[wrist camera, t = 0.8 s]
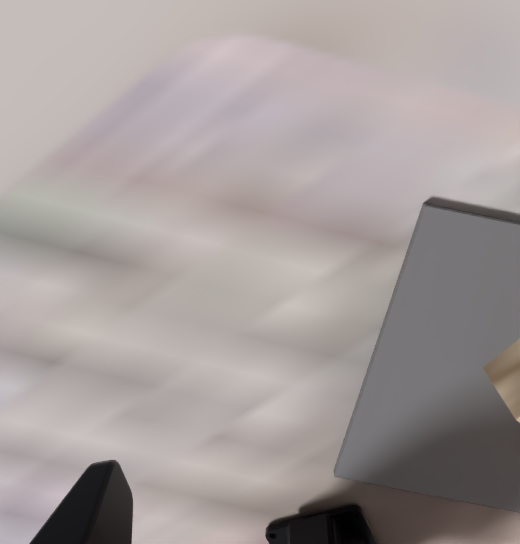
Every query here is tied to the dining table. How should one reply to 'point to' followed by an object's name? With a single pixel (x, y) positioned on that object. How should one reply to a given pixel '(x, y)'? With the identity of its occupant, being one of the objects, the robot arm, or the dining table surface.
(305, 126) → the dining table surface
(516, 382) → the beige wooden cube
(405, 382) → the mat
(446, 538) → the dining table surface
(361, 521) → the robot arm
